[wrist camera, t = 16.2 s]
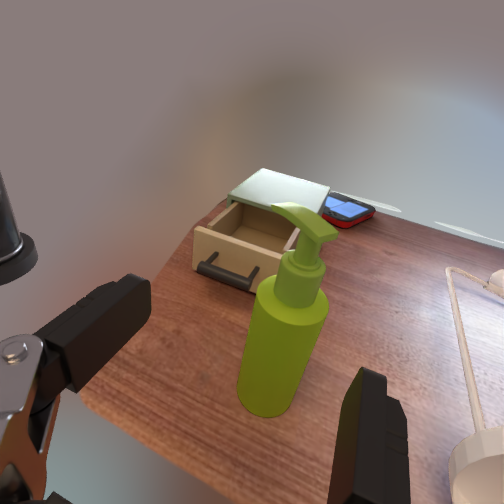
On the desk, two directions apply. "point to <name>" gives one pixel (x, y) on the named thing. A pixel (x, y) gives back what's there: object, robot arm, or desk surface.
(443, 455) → the desk surface
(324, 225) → the soap dispenser
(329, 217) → the game console
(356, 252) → the desk surface
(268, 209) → the cabinet
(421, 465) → the desk surface
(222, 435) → the desk surface
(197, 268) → the drawer
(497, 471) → the desk lamp
